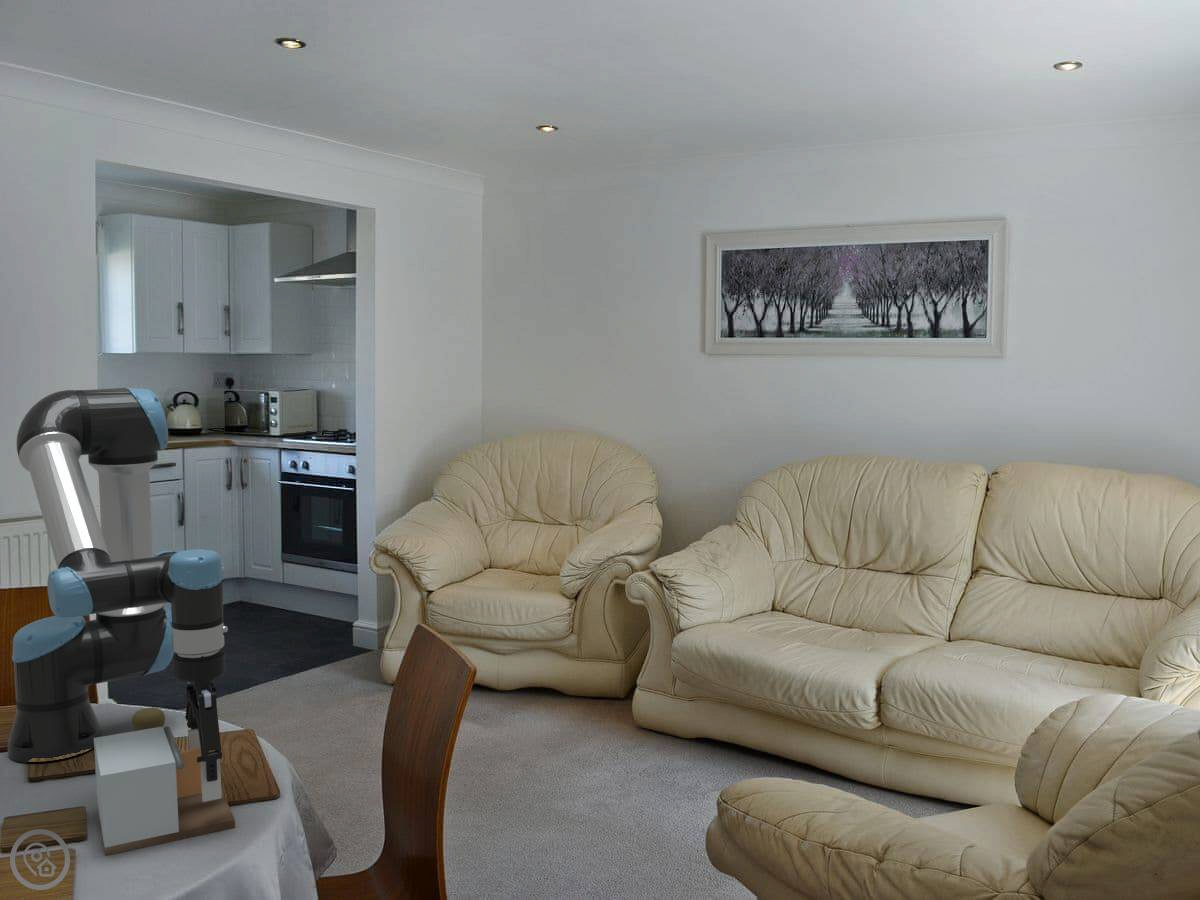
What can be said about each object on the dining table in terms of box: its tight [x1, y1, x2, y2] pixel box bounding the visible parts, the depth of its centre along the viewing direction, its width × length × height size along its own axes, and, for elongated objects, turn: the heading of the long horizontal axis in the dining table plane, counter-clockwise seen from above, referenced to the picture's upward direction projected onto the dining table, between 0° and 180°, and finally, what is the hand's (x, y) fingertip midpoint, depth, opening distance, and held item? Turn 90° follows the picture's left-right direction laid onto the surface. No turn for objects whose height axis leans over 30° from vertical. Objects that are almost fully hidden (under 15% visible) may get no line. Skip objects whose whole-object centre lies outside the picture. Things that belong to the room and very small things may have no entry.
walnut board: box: [96, 789, 236, 856], centre depth 163 cm, size 16×18×1 cm
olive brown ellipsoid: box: [131, 707, 166, 731], centre depth 180 cm, size 6×6×11 cm
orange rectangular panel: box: [176, 748, 215, 798], centre depth 162 cm, size 1×16×7 cm, turn 118°
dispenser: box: [93, 725, 184, 847], centre depth 161 cm, size 16×11×11 cm
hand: (205, 783), depth 165 cm, fingers open, 12 cm apart
